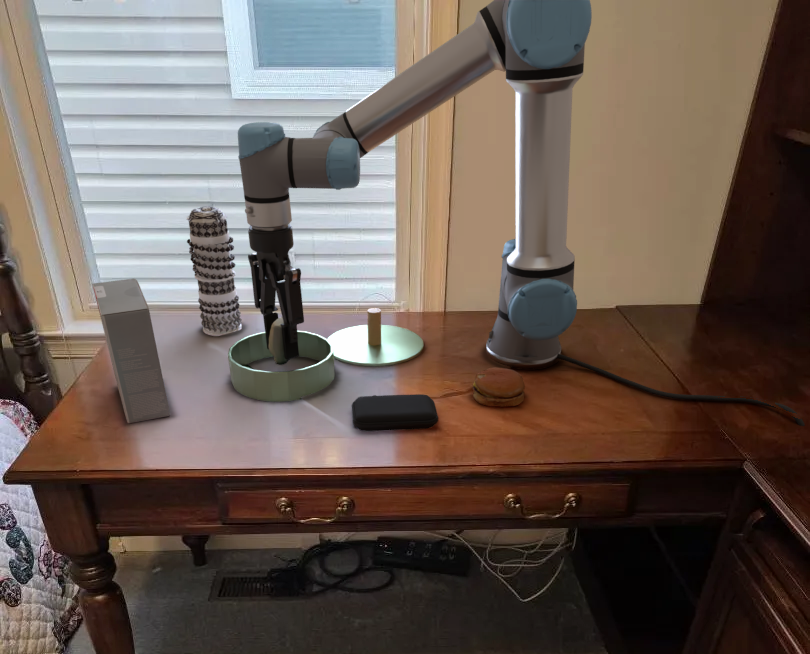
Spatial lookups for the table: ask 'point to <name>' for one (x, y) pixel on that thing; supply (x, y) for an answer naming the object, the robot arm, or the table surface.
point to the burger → (499, 387)
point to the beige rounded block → (277, 342)
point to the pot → (281, 382)
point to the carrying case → (394, 412)
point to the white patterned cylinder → (214, 270)
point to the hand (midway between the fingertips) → (282, 352)
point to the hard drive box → (132, 349)
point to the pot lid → (375, 343)
